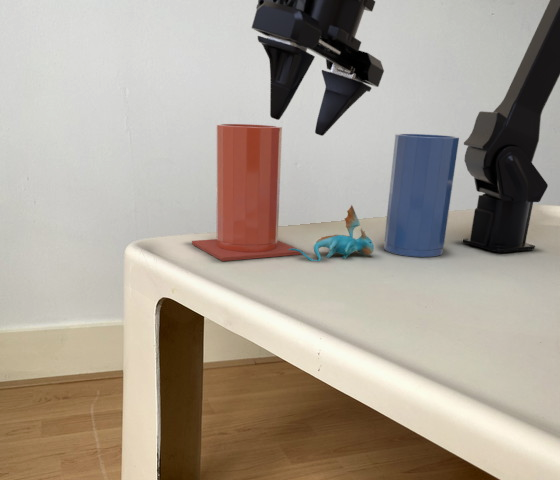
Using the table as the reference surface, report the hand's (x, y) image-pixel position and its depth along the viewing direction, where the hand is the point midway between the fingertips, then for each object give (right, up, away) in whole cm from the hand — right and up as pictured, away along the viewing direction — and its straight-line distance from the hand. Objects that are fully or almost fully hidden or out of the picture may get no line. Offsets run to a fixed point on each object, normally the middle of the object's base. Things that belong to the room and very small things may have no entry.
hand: (297, 127), depth 72 cm
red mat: (-6, -14, +1) cm, 15 cm away
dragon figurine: (+4, -15, 0) cm, 16 cm away
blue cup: (+14, -13, +4) cm, 20 cm away
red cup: (-6, -13, +1) cm, 15 cm away
